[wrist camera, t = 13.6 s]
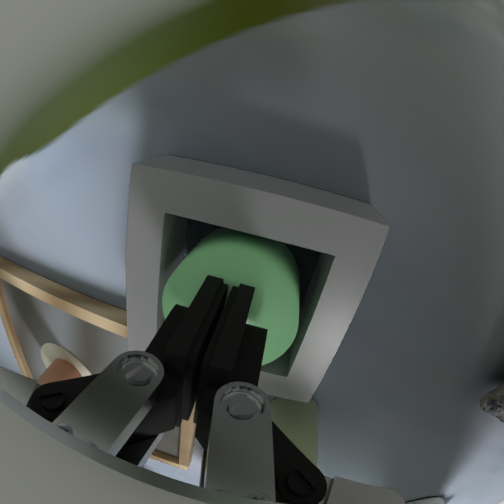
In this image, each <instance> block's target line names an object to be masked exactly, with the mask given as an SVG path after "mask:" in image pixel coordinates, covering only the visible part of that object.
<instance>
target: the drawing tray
mask: <svg viewBox="0 0 504 504" xmlns="http://www.w3.org/2000/svg"><path fill="white" fill-rule="evenodd" d="M0 315H1V318H2V322H3V325H4V328H5V331H6V334H7V336H8V339H9V342H10V345H11V347H12V350H13V353H14V355H15V358H16V360H17V363H18V365H19V367H20V370H21V372H22V374H23V376H26V377H29V378H32V379H35V380H37V379H38V378H39V377H40V376H41V375H42V374H43V372H44V371H45V370H46V369H47V368H48V367H49V365H50V364H51V363H52V362H53V361H54V360H55V359H56V358H61V359H64V360H66V361H67V362H69V363H70V364H72V365H73V366H74V367H75V368H76V369H77V370H78V371H79V373H80V374H81V375H82V377H83V376H88V375H93V374H98V373H101V372H102V371H103V370H104V369H105V368H106V367H107V366H108V365H109V364H110V363H111V362H112V361H113V360H114V359H115V358H116V357H117V356H119V355H120V354H122V353H125V352H127V351H129V350H128V334H127V313H126V311H125V310H122V309H120V308H117V307H114V306H112V305H109V304H106V303H104V302H101V301H99V300H96V299H94V298H91V297H89V296H86V295H84V294H81V293H79V292H76V291H74V290H72V289H69V288H67V287H65V286H62V285H60V284H58V283H55V282H53V281H51V280H49V279H46V278H44V277H42V276H40V275H38V274H36V273H33V272H31V271H29V270H27V269H25V268H23V267H21V266H19V265H17V264H15V263H13V262H11V261H9V260H7V259H5V258H3V257H1V256H0ZM195 404H196V402H195ZM194 411H195V405H194V408H193V410H192V413H191V416H190V418H189V420H188V421H186V420H183V419H182V422H181V424H180V427H176V426H175V428H174V429H173V430H170V431H167V432H164V434H163V437H162V439H161V440H160V442H159V443H158V445H157V446H156V448H155V449H154V451H153V452H152V454H151V455H150V458H152V459H155V460H158V461H161V462H163V463H166V464H169V465H172V466H175V467H178V468H181V469H185V470H188V469H189V466H190V463H191V458H192V452H193V445H194V439H195V429H196V423H193V419H194Z"/></svg>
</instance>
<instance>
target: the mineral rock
mask: <svg viewBox="0 0 504 504" xmlns="http://www.w3.org/2000/svg"><path fill="white" fill-rule="evenodd" d="M480 406H481V408H482V409H483V410H484V411H485V412H487V413H489V414H491V415H493V416H495V417H497V418H498V419H499V420H500V421H502V422H504V385H502V386H498V387H497V388H496V389H494V390H492V391H491V392H489V393H487V394H486V395H485V396H483V397H482V399H481V400H480Z"/></svg>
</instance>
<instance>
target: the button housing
mask: <svg viewBox="0 0 504 504" xmlns="http://www.w3.org/2000/svg"><path fill="white" fill-rule="evenodd" d="M189 219H193V220H197V221H201V222H205V223H209V224H213V225H217V226H221V227H225V228H229V229H233V230H237V231H241V232H245V233H249V234H253V235H257V236H261V237H265V238H269V239H273V240H276V241H280V242H284V243H288V244H292V245H296V246H299V247H303V248H307V249H311V250H315V251H318V252H320V254H319V257H318V260H317V263H316V266H315V269H314V272H313V275H312V278H311V281H310V283H309V286H308V289H307V292H306V295H305V298H304V301H303V303H302V306H301V309H300V312H299V324H298V330H297V334H296V337H295V339H294V341H293V343H292V344H291V346H290V347H289V348H288V349H287V350H286V352H285V353H284V354H282V355H281V356H280V357H278V358H277V359H275V360H274V361H272V362H270V363H267V364H265V365H262V366H261V371H260V377H259V382H258V387H259V388H260V389H261V390H262V391H264V392H265V393H266V395H271V396H275V397H280V398H285V399H290V400H295V401H300V402H306V403H309V401H310V399H311V398H312V396H313V394H314V392H315V391H316V389H317V387H318V385H319V383H320V382H321V380H322V378H323V376H324V374H325V372H326V371H327V369H328V367H329V365H330V363H331V361H332V359H333V357H334V355H335V353H336V351H337V350H338V348H339V346H340V344H341V342H342V340H343V338H344V335H345V333H346V331H347V329H348V327H349V325H350V323H351V321H352V319H353V317H354V314H355V312H356V310H357V308H358V306H359V304H360V301H361V299H362V297H363V295H364V292H365V290H366V288H367V285H368V283H369V281H370V278H371V276H372V273H373V271H374V268H375V266H376V264H377V261H378V259H379V256H380V253H381V251H382V248H383V246H384V243H385V240H386V238H387V235H388V232H389V229H390V226H389V225H388V223H387V222H386V221H385V220H384V219H383V218H382V216H381V215H380V214H379V213H378V212H377V211H376V210H375V208H374V207H373V206H372V205H371V204H368V203H365V202H362V201H358V200H355V199H352V198H348V197H345V196H342V195H338V194H335V193H331V192H328V191H324V190H321V189H317V188H313V187H310V186H306V185H302V184H299V183H295V182H291V181H287V180H283V179H279V178H275V177H271V176H267V175H263V174H259V173H254V172H250V171H246V170H241V169H237V168H232V167H228V166H223V165H218V164H213V163H208V162H203V161H198V160H193V159H188V158H183V157H177V156H172V155H163V156H159V157H155V158H151V159H148V160H144V161H140V162H137V163H133V164H132V171H131V181H130V192H129V205H128V220H127V242H126V313H127V334H128V350H129V351H134V350H138V351H145V350H146V349H147V347H148V346H149V344H150V343H151V341H152V339H153V338H154V336H155V335H156V333H157V332H158V330H159V328H160V327H161V325H162V324H163V322H164V321H165V317H164V314H163V308H162V296H163V291H164V288H165V285H166V283H167V281H168V279H169V277H170V276H171V275H172V273H173V272H174V271H175V270H176V268H177V267H178V266H179V265H180V264H181V262H182V261H183V260H184V252H185V245H186V237H187V229H188V222H189Z"/></svg>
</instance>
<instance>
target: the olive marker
mask: <svg viewBox="0 0 504 504" xmlns="http://www.w3.org/2000/svg"><path fill="white" fill-rule="evenodd" d="M270 404H271V416H272V421H273V422H274V423H275V424H276V425H277V427H278V428H279V429H280V430H281V431H282V432H283V433H284V434H285V435H286V436H287V437H288V438H289V439H290V441H291V442H292V443H293V444H294V445H295V446H296V447H297V448H298V449H299V450H300V451H301V452H302V453H303V454H304V455H305V456H306V457H307V458H308V459H309V460H310V461H311V462H312V463H313V464H314V465H315V466H316V467H317V460H318V405H317V403H316V402H315V401H314V400H313V399H312V398H311V399H310V401H309V403H306V402H300V401H295V400H290V399H285V398H280V397H277V398H275V399H273V400H272V401H271V403H270Z"/></svg>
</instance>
